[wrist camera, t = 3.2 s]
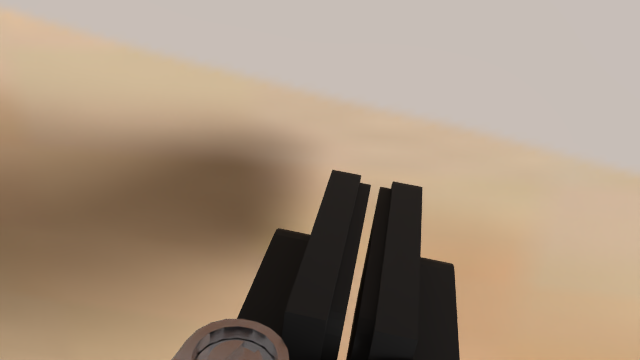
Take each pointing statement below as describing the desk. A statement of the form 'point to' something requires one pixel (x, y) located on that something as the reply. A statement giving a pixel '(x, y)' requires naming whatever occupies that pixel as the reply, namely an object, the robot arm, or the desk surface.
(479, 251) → the desk surface
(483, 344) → the desk surface
